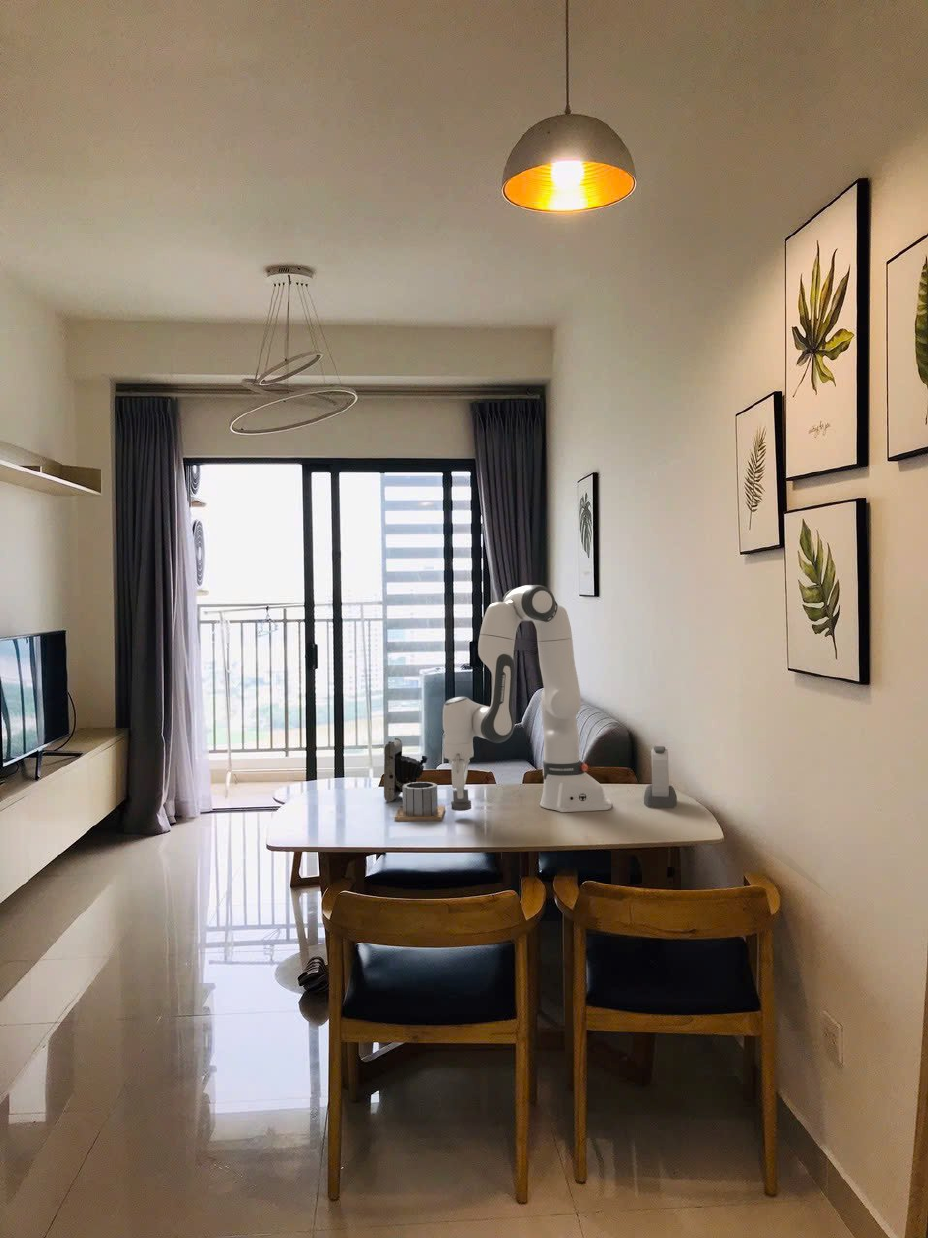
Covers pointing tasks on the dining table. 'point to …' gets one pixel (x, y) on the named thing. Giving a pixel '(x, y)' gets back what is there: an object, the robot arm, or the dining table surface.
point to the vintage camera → (399, 769)
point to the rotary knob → (460, 802)
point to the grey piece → (660, 782)
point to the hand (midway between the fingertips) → (460, 797)
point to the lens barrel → (420, 803)
